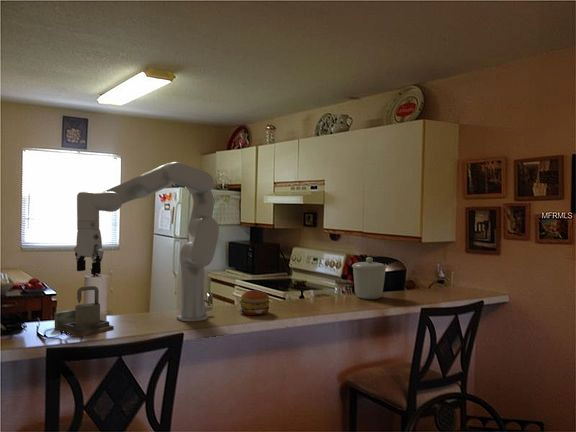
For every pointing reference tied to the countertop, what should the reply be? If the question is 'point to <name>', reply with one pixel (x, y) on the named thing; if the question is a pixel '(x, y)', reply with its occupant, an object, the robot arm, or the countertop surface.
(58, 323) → the open hinged box
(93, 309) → the padlock
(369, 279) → the canister
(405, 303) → the countertop surface
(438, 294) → the countertop surface
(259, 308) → the burger
